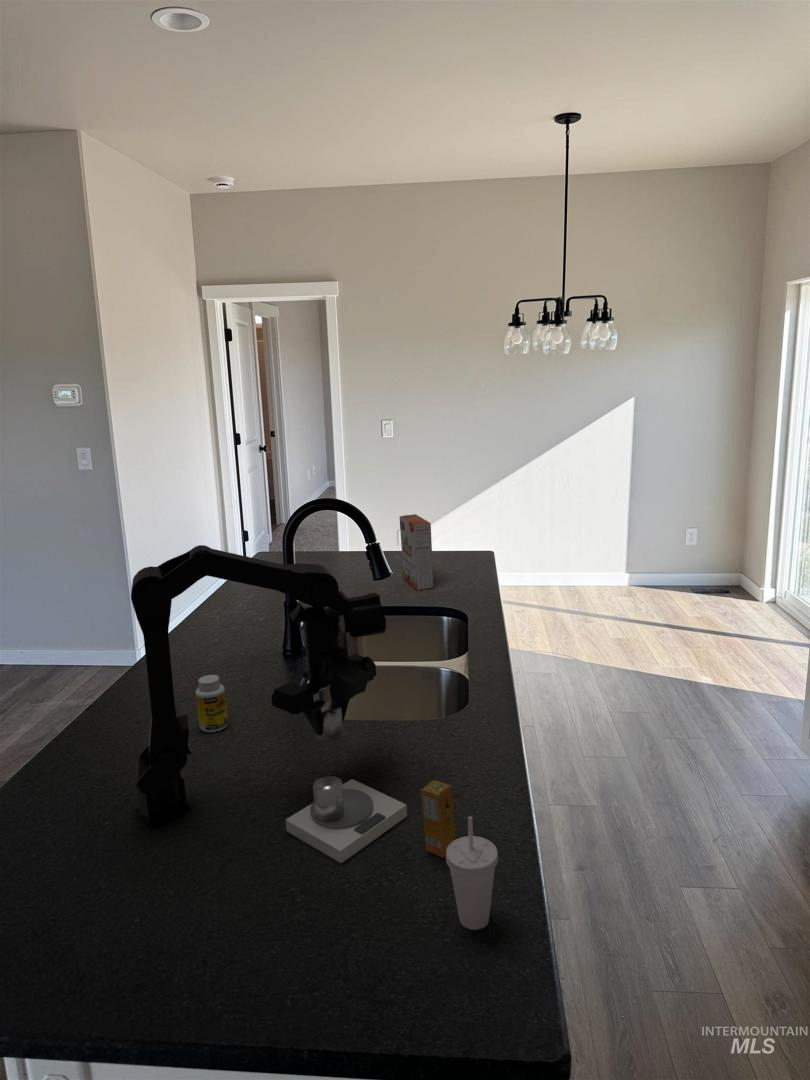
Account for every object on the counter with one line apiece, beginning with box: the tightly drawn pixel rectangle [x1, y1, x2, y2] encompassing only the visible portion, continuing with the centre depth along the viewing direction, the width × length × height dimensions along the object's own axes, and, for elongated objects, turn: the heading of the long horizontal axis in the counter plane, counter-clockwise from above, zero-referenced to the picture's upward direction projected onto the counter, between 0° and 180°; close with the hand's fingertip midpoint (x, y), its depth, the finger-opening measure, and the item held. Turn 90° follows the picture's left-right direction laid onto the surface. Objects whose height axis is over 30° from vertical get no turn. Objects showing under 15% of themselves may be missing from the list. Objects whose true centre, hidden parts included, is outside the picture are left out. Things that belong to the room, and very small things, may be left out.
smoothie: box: [445, 815, 499, 931], centre depth 92 cm, size 6×6×14 cm
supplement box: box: [420, 779, 457, 859], centre depth 106 cm, size 3×3×10 cm
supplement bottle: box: [195, 674, 229, 733], centre depth 146 cm, size 6×6×10 cm
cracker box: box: [399, 513, 435, 591], centre depth 231 cm, size 14×6×21 cm, turn 17°
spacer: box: [312, 775, 344, 823], centre depth 112 cm, size 4×4×5 cm
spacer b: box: [316, 701, 344, 743], centre depth 126 cm, size 4×4×5 cm
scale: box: [285, 778, 408, 864], centre depth 114 cm, size 14×12×3 cm
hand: (329, 729), depth 126 cm, fingers closed on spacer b, 4 cm apart
